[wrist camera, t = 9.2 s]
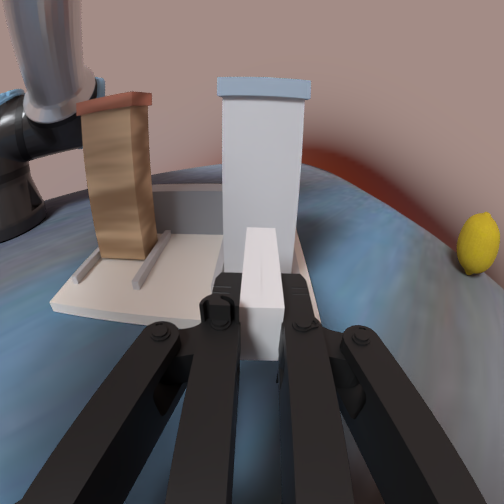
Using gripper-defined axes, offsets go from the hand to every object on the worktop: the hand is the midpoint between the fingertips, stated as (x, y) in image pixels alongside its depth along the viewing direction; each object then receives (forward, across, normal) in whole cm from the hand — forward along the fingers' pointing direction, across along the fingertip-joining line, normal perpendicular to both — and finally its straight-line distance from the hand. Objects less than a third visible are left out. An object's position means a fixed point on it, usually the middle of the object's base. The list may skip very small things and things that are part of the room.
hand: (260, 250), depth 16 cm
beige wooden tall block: (+10, -13, -6) cm, 17 cm away
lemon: (+9, +25, -7) cm, 28 cm away
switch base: (+10, -6, -7) cm, 14 cm away
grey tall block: (+6, 0, -6) cm, 9 cm away
